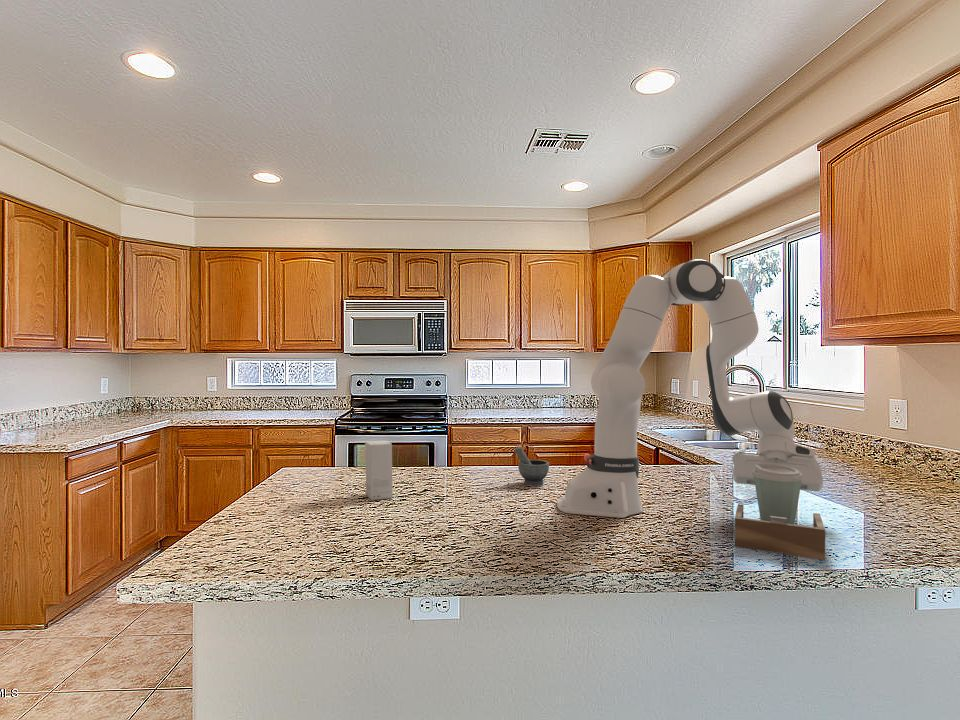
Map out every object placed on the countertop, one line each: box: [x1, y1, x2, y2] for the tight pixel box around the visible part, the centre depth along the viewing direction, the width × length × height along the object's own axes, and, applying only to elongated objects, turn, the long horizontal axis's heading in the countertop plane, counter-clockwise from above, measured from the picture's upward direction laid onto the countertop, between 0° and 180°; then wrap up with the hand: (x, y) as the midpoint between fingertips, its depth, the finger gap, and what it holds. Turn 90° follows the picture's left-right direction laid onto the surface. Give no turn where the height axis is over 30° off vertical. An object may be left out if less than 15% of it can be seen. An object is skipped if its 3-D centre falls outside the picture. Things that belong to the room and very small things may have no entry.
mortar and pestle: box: [513, 445, 550, 487], centre depth 174 cm, size 11×9×12 cm
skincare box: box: [364, 440, 394, 501], centre depth 157 cm, size 8×7×16 cm
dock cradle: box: [734, 503, 826, 561], centre depth 119 cm, size 13×16×7 cm
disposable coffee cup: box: [752, 463, 803, 525], centre depth 128 cm, size 11×11×15 cm
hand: (776, 499), depth 135 cm, fingers closed
